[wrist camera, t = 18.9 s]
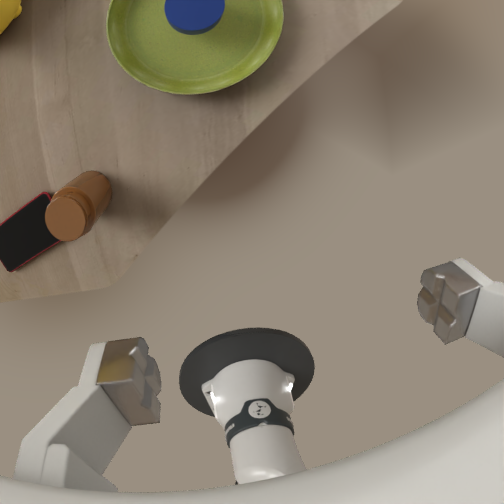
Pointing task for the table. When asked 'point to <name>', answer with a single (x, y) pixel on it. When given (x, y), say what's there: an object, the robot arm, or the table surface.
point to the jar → (78, 206)
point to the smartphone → (26, 233)
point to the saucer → (192, 44)
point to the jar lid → (194, 15)
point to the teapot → (8, 12)
